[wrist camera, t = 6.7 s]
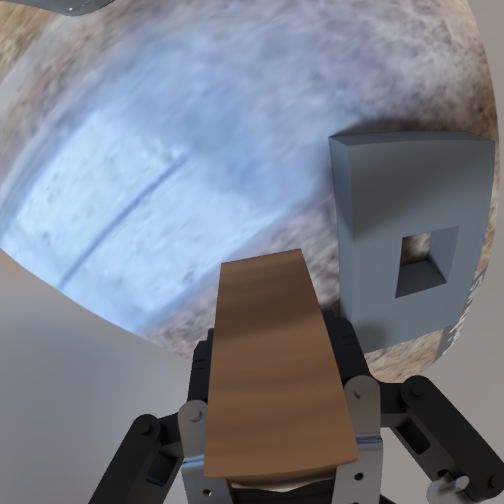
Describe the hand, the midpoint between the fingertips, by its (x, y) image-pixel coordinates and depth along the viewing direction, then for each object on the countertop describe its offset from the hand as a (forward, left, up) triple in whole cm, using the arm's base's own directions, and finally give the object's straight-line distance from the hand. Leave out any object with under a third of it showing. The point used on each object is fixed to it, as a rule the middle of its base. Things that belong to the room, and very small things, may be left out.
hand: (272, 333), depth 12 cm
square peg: (0, 0, -3) cm, 3 cm away
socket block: (+4, +13, -11) cm, 18 cm away
